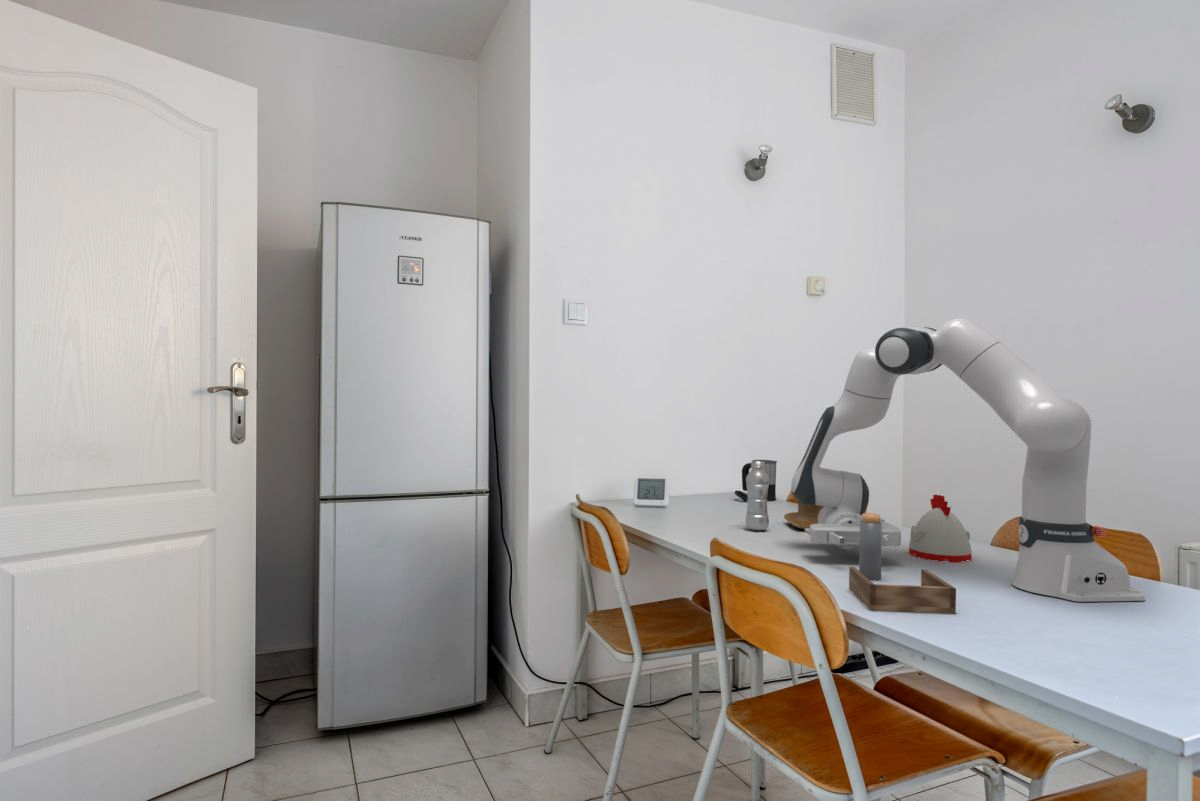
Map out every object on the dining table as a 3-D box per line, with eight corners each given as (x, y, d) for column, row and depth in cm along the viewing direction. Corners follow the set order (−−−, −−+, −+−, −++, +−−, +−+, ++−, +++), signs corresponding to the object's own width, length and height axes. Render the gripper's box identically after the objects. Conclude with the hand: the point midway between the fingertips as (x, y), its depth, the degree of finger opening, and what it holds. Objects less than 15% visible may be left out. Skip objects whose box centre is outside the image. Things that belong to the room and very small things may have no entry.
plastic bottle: (769, 533, 199) (770, 462, 199) (745, 531, 200) (746, 461, 200) (768, 529, 205) (769, 460, 205) (744, 527, 207) (746, 459, 207)
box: (926, 592, 140) (926, 569, 140) (955, 613, 126) (956, 588, 126) (849, 589, 141) (849, 566, 141) (869, 610, 127) (870, 585, 127)
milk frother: (778, 499, 268) (779, 460, 268) (770, 504, 254) (771, 463, 254) (741, 496, 274) (742, 458, 274) (731, 501, 259) (732, 461, 259)
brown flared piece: (835, 533, 201) (836, 480, 200) (793, 532, 201) (794, 480, 201) (821, 523, 216) (822, 475, 216) (782, 522, 216) (783, 474, 216)
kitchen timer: (952, 550, 180) (953, 491, 180) (983, 562, 167) (984, 499, 167) (899, 549, 180) (900, 491, 180) (925, 562, 166) (926, 499, 166)
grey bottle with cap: (877, 575, 153) (878, 513, 152) (883, 580, 148) (884, 516, 148) (856, 574, 153) (857, 512, 153) (862, 580, 149) (863, 516, 148)
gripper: (803, 516, 171) (815, 526, 158) (889, 518, 170) (909, 528, 156) (802, 541, 171) (815, 554, 158) (889, 544, 170) (909, 557, 156)
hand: (862, 541), depth 157 cm, fingers open, 8 cm apart
